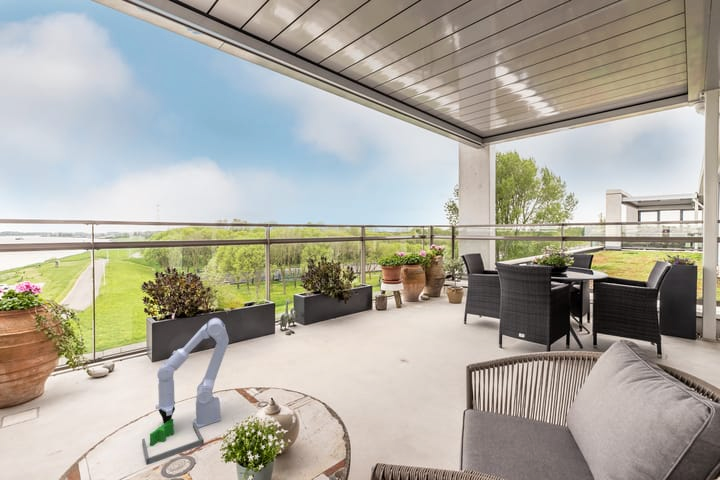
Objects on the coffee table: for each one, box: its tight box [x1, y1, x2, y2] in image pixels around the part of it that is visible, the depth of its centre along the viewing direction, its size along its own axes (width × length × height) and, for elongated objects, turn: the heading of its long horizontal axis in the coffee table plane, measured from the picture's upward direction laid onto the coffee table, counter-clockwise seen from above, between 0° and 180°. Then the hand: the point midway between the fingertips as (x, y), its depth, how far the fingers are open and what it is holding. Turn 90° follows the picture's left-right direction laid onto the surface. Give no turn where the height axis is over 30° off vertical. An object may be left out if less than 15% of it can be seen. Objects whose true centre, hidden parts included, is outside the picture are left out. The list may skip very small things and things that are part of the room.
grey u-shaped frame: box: [141, 421, 205, 465], centre depth 132 cm, size 19×16×2 cm
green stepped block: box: [149, 418, 175, 447], centre depth 136 cm, size 11×4×5 cm, turn 170°
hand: (167, 425), depth 142 cm, fingers closed
